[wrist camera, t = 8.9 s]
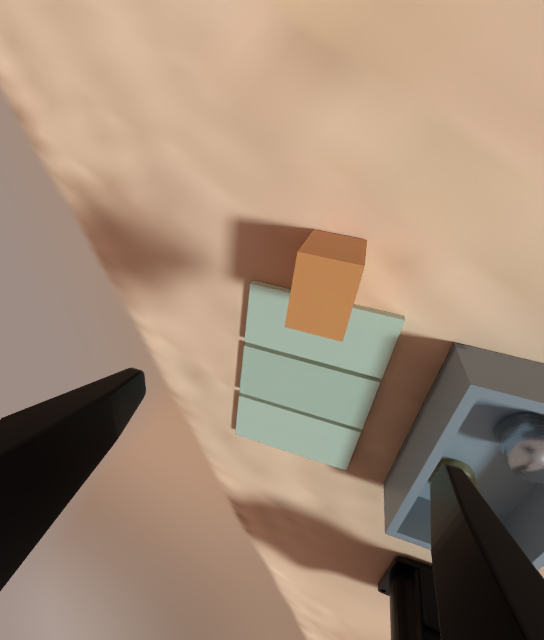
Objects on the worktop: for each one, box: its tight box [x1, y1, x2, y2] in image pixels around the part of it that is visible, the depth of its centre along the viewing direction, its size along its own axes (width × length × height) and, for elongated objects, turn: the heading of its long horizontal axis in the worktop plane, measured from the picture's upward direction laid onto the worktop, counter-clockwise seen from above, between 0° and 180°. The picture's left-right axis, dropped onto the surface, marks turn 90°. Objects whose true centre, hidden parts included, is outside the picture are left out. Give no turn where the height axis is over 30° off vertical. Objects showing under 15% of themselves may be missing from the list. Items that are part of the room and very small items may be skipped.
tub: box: [384, 342, 544, 570], centre depth 20 cm, size 14×9×4 cm, turn 173°
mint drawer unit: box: [235, 230, 405, 470], centre depth 21 cm, size 18×10×5 cm, turn 173°
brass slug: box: [428, 459, 480, 492], centre depth 22 cm, size 3×3×2 cm
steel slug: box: [494, 414, 544, 483], centre depth 19 cm, size 3×3×2 cm
